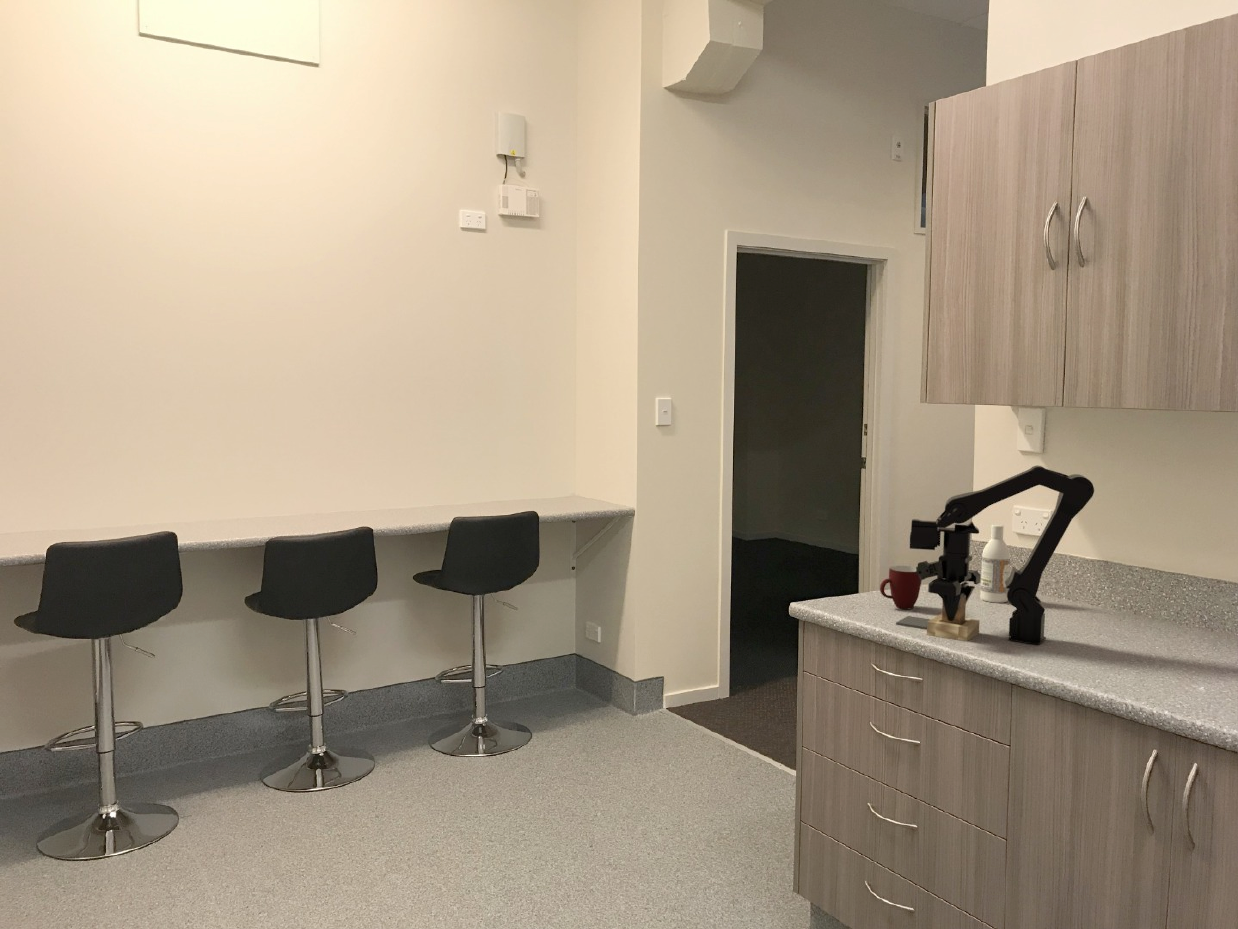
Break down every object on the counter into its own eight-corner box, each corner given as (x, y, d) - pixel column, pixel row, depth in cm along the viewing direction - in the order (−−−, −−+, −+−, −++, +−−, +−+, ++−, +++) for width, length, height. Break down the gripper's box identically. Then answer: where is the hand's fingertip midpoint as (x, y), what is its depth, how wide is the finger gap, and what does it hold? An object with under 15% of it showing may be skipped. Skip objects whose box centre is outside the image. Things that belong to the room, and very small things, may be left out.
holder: (979, 633, 226) (979, 620, 226) (966, 641, 219) (967, 628, 219) (940, 626, 232) (940, 614, 231) (926, 634, 224) (927, 621, 224)
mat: (940, 623, 235) (940, 621, 235) (929, 629, 229) (929, 627, 228) (908, 617, 240) (908, 615, 240) (896, 624, 233) (896, 622, 233)
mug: (890, 612, 245) (891, 573, 244) (873, 605, 253) (874, 567, 252) (927, 610, 248) (928, 571, 247) (909, 603, 255) (910, 565, 254)
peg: (964, 633, 226) (966, 595, 225) (958, 637, 222) (960, 598, 222) (947, 630, 228) (948, 592, 227) (941, 634, 225) (942, 595, 224)
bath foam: (1001, 604, 254) (1004, 528, 253) (975, 600, 259) (978, 525, 258) (1012, 600, 259) (1016, 525, 257) (987, 596, 264) (990, 522, 262)
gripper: (935, 542, 236) (932, 606, 237) (906, 553, 221) (904, 621, 222) (982, 547, 229) (979, 613, 231) (956, 559, 214) (953, 629, 216)
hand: (953, 618), depth 225 cm, fingers closed on peg, 4 cm apart
